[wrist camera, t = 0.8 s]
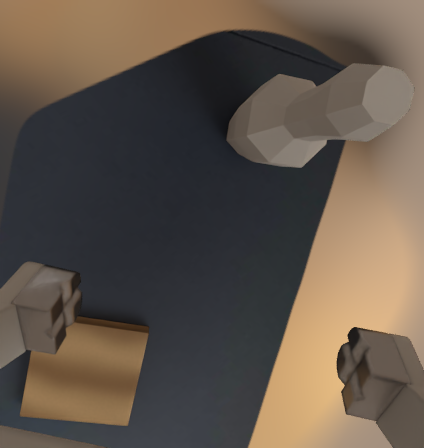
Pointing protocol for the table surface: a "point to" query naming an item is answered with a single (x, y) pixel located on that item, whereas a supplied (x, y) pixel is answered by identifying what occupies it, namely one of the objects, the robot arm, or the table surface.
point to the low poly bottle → (318, 113)
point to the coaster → (87, 374)
